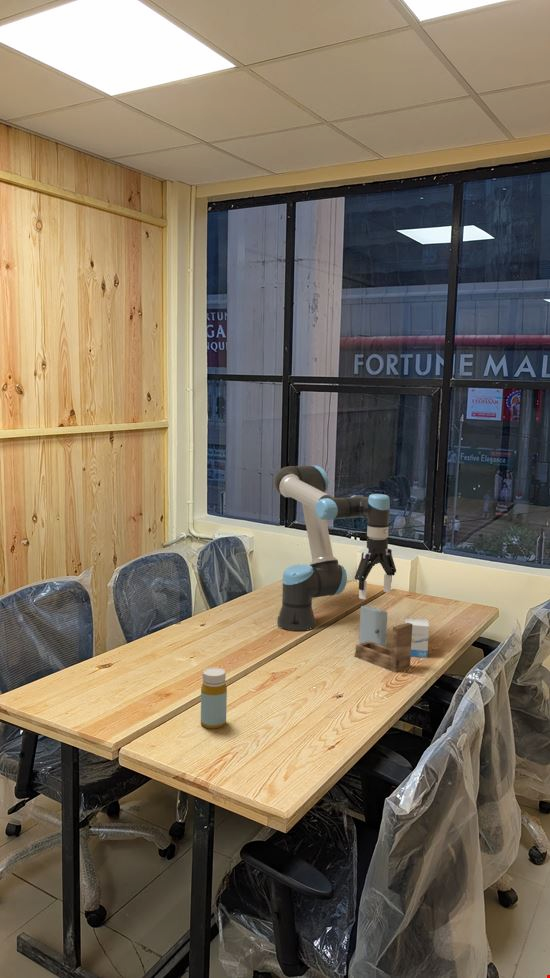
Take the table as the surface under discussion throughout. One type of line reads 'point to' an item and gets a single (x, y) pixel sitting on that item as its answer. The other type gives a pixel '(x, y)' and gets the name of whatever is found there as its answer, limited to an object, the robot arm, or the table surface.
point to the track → (389, 650)
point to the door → (373, 625)
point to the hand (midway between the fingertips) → (375, 595)
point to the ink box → (419, 636)
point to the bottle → (213, 698)
